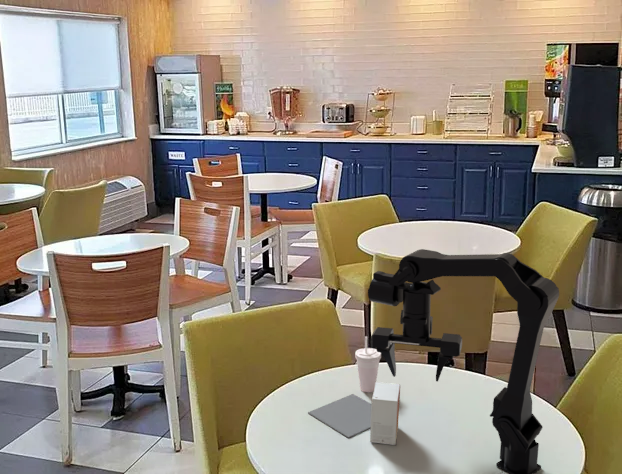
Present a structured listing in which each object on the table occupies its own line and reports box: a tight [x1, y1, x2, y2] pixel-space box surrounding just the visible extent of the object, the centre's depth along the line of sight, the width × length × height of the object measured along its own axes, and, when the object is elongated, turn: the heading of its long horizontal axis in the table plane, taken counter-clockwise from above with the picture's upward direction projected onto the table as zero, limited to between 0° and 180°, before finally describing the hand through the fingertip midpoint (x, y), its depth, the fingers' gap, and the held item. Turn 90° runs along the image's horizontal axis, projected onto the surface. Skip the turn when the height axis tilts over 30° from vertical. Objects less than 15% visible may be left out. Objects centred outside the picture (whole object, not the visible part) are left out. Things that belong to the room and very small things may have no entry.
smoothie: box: [354, 336, 382, 393], centre depth 171 cm, size 6×6×14 cm
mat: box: [307, 393, 372, 439], centre depth 160 cm, size 14×14×1 cm
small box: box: [369, 381, 401, 446], centre depth 150 cm, size 8×6×10 cm
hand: (415, 378), depth 149 cm, fingers open, 9 cm apart
